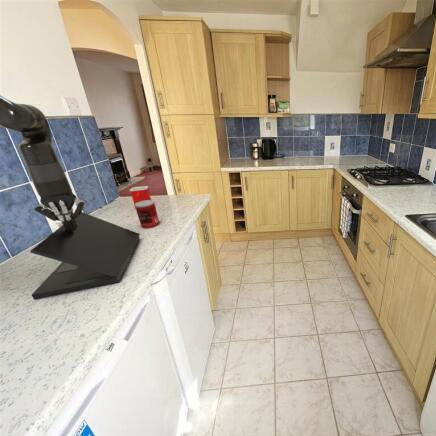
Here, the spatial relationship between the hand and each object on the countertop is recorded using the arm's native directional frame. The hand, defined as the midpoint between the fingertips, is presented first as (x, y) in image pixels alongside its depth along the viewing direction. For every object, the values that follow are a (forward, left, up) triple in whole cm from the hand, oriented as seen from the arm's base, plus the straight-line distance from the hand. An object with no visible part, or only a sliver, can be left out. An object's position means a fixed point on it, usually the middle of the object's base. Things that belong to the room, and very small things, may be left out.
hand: (72, 230), depth 78 cm
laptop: (+3, 0, -14) cm, 14 cm away
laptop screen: (+5, 0, -5) cm, 7 cm away
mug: (+7, +58, -14) cm, 60 cm away
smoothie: (-13, +25, -14) cm, 32 cm away
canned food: (+15, +30, -14) cm, 36 cm away
